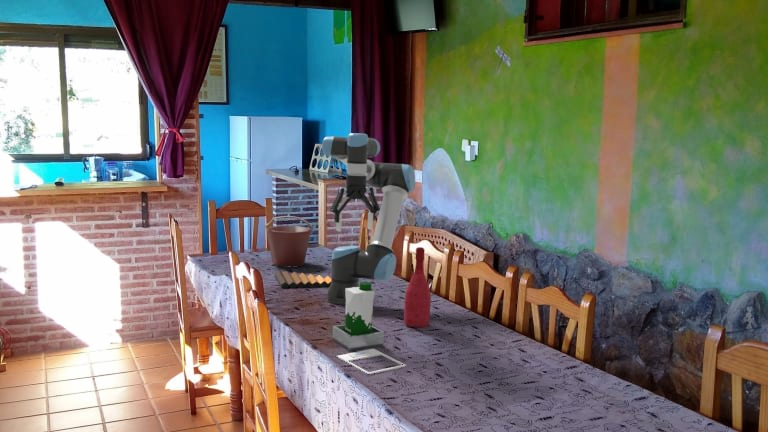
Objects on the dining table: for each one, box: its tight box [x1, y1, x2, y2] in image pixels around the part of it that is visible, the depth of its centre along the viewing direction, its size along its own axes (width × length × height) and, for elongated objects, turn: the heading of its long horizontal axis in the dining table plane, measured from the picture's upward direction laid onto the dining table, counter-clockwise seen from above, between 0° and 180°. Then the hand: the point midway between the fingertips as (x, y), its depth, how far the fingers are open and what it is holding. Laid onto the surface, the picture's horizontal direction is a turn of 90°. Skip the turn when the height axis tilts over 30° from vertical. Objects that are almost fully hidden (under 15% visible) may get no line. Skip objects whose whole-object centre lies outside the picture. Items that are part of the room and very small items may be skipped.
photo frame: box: [336, 348, 407, 375], centre depth 226 cm, size 15×1×18 cm
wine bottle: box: [403, 246, 432, 329], centre depth 266 cm, size 10×10×30 cm
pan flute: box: [274, 269, 332, 289], centre depth 331 cm, size 25×3×25 cm
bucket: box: [264, 215, 314, 268], centre depth 365 cm, size 24×22×25 cm
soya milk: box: [344, 281, 376, 336], centre depth 242 cm, size 9×9×20 cm
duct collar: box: [332, 324, 385, 352], centre depth 243 cm, size 13×13×5 cm
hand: (354, 230), depth 268 cm, fingers open, 13 cm apart
